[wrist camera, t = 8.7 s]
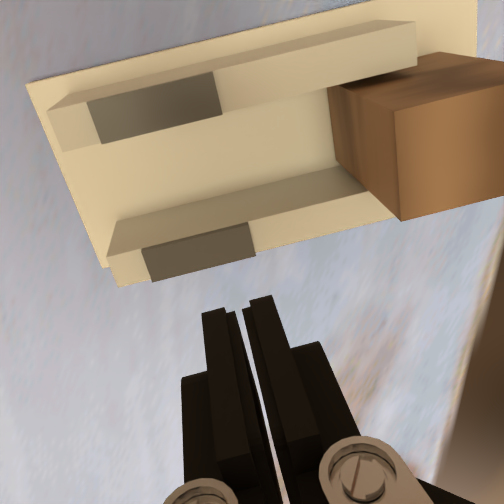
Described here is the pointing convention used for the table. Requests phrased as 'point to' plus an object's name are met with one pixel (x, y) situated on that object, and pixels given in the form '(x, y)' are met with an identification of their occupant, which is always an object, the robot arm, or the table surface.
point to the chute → (230, 135)
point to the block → (424, 133)
